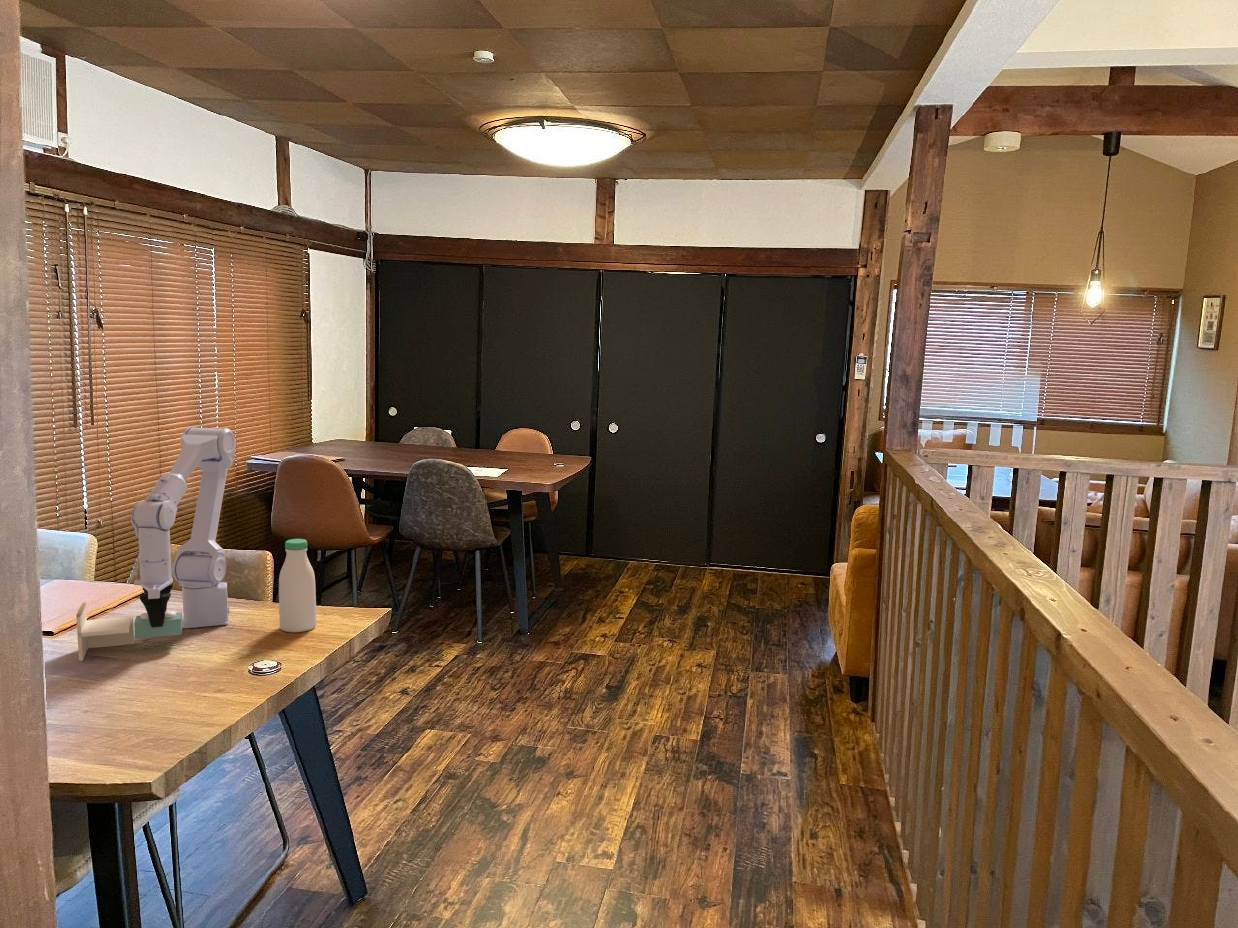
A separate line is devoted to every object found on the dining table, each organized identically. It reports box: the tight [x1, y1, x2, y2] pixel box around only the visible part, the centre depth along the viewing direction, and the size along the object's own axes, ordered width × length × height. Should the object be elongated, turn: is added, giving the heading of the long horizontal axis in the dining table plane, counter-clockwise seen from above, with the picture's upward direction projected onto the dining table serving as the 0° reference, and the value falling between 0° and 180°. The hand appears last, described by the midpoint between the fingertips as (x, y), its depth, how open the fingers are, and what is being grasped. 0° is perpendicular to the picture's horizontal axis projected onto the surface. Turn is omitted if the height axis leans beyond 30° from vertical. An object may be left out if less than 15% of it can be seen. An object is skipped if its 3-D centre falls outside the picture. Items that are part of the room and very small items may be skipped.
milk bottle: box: [278, 538, 317, 633], centre depth 200 cm, size 8×8×20 cm
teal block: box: [133, 610, 183, 640], centre depth 187 cm, size 8×4×4 cm, turn 113°
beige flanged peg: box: [75, 602, 135, 662], centre depth 183 cm, size 9×8×10 cm
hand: (158, 622), depth 187 cm, fingers closed on teal block, 4 cm apart
